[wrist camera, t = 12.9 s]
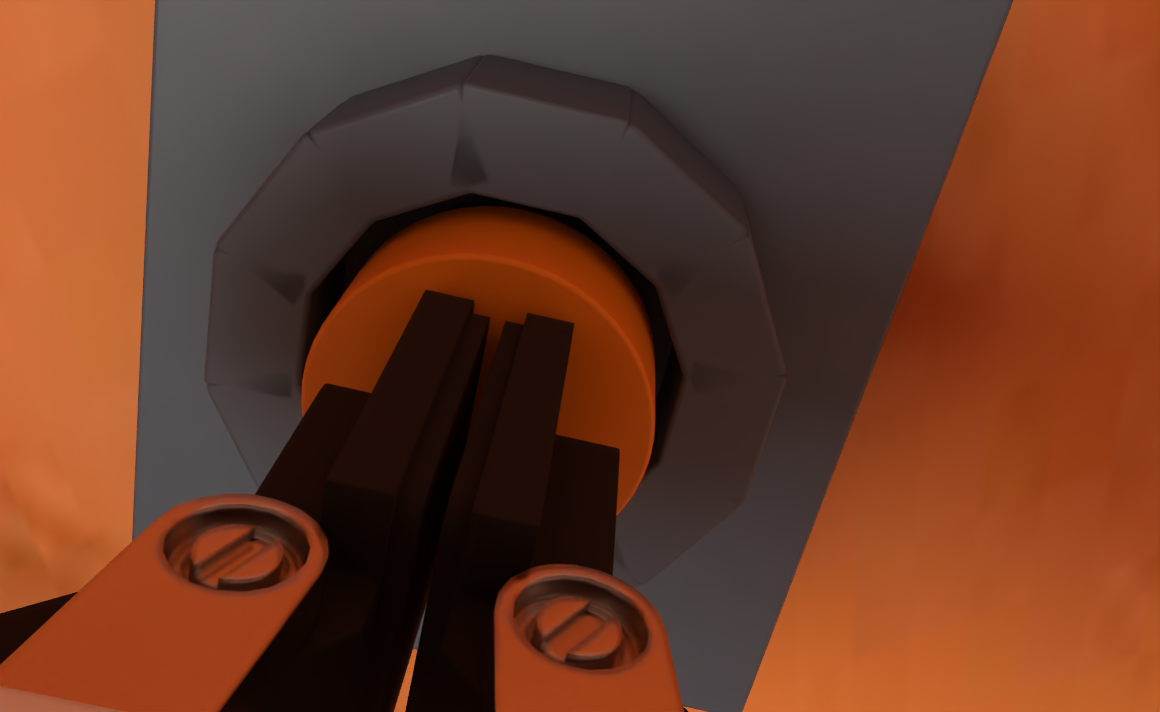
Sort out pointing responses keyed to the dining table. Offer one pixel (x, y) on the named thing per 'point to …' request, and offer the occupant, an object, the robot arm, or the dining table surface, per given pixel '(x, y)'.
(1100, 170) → the dining table surface
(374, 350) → the button
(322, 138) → the push button box
